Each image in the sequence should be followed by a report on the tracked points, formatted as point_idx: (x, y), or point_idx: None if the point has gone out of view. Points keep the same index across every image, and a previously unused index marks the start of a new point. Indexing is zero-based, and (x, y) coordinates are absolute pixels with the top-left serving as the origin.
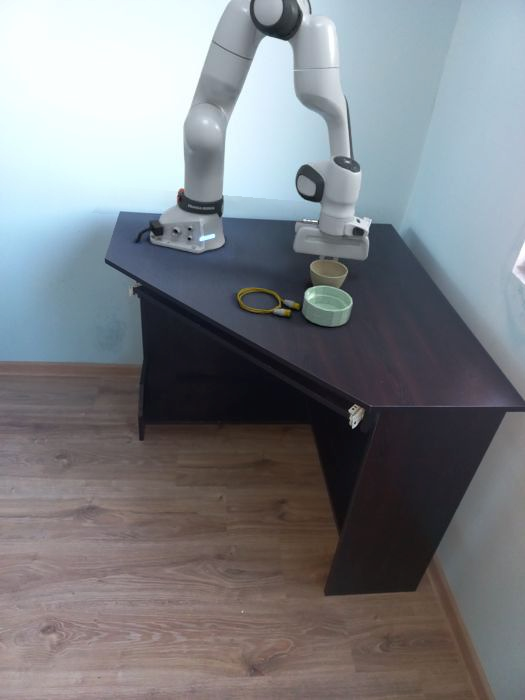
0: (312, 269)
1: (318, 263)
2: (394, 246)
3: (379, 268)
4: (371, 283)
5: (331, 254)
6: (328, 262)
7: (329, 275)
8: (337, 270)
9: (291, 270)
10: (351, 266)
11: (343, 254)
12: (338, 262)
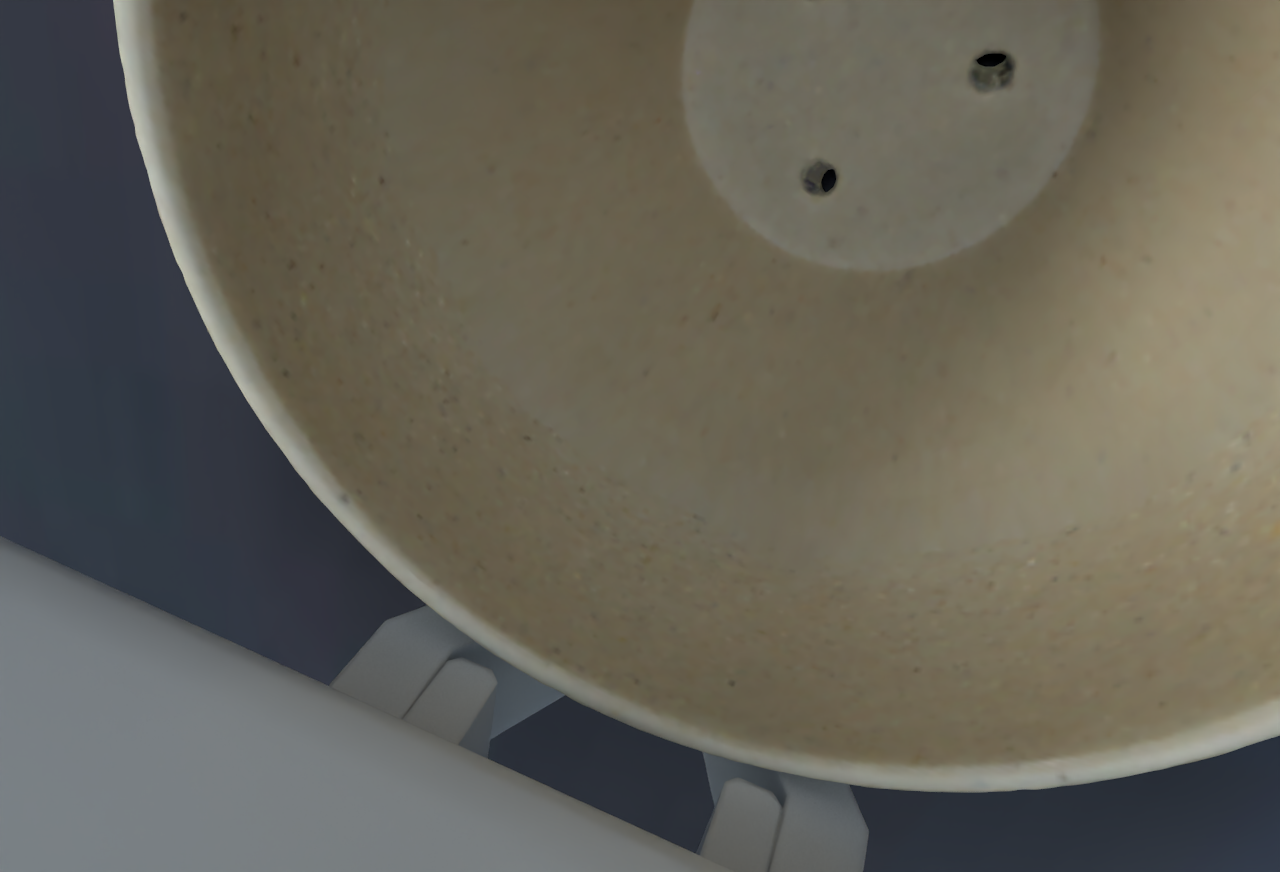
0: (1204, 525)
1: (926, 691)
2: None
3: (85, 566)
4: (125, 293)
5: (483, 844)
6: (635, 653)
7: (679, 394)
8: (480, 397)
9: (1196, 792)
10: (338, 660)
11: (90, 717)
12: (378, 555)
